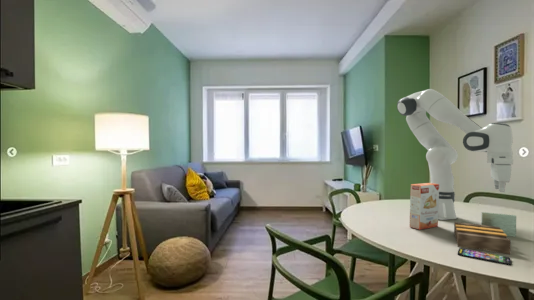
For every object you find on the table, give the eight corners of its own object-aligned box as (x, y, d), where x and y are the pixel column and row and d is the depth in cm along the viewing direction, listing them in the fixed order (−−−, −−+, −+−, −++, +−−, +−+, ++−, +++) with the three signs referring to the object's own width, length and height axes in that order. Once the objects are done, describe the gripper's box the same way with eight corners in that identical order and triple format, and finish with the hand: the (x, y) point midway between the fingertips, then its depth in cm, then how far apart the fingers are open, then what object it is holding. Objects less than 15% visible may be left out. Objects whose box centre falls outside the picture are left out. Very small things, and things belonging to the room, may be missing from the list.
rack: (457, 246, 114) (458, 233, 114) (454, 232, 131) (454, 221, 131) (510, 254, 106) (510, 239, 106) (498, 238, 124) (499, 226, 123)
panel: (481, 232, 132) (482, 212, 132) (481, 231, 134) (481, 212, 134) (515, 236, 126) (516, 216, 126) (514, 235, 128) (515, 215, 128)
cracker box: (420, 230, 135) (421, 185, 134) (408, 227, 140) (409, 184, 140) (439, 226, 141) (439, 183, 141) (427, 223, 147) (427, 182, 146)
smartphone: (511, 264, 96) (457, 253, 105) (511, 267, 96) (457, 256, 105) (510, 257, 102) (459, 247, 111) (510, 259, 102) (459, 250, 111)
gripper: (486, 158, 140) (486, 187, 140) (495, 160, 122) (494, 193, 122) (503, 158, 137) (503, 187, 137) (514, 160, 119) (514, 194, 119)
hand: (499, 190), depth 130 cm, fingers open, 8 cm apart
